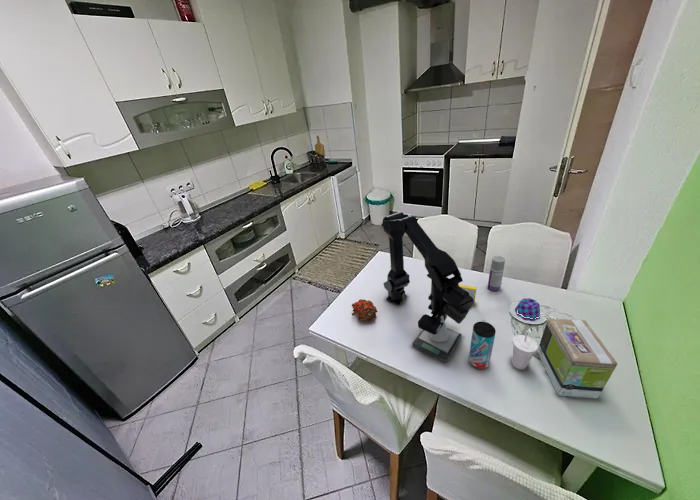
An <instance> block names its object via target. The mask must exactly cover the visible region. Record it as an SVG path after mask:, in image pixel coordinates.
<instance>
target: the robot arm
mask: <svg viewBox="0 0 700 500" xmlns="http://www.w3.org/2000/svg"><path fill="white" fill-rule="evenodd" d="M381 224H382V229H383V232H384V233H385V234H386V236H387V237H388V243H389V244H388V245H389V258H390V269H389V271H388V273H387V276H386V277H387V280H386V281H385V282H383V288H384V289H385V290H386V291H387V297H386V299H385V300H386V301H388V302H390V303H393V304H395V305H397V306H400V305H401V304H402V302H404V301H405V300H406V298H407V296H408V295H406V290H405V288H406V287H408V286H409V284H410V283H411V281H410V274H409V273H408V272H407V271H406V270H405V265H404V263H405V262H404V238H403V237H404V235H405V234H406V236H407V237H408V238H409V240H410V241H411V243H412V244H413V245H414V247H415V248H416V249H417V251H418V252H419V253H420V255H421V257H422V258H423V260H424V267H425V269H426V271H427V274H426V277H428V278H429V279H430V280H431V281H430V282H431V283H430V284H431V286H430V294H429V295H428V300H429V301H430V303H429V305H428V306H427V309H428V310H430V311H431V312H430V314H431V315H429V314H426V313H425V314H422V316H421V317H420V318H419V319H418V321H417V327H418V329H421V330H425V331H427V332H429V333H431V334H433V335H435V334H437V333H438V331H439V330H440V329H441V327H442V326H443V324H444V323H446V320H447V318H448V317H449V318H450V319H451V320H452V321H454V322H455V323H457V324H461V323H462V322H463V321H464V320H465V318H466V316H467V315H468V314H469V312H470V310H471V309H472V307H474V306H473V303H474V300H473V297H471V296H470V295H469V292H467V291H466V290H464V289H462V288H461V287H459V286H458V285H459V284H461V283H462V282H464V281H463V277H462V273H461V271H460V269H459V267H458V265H457V263H456V261H455V260H454V258H453V257H452V256H451V255H449V253H447V252H446V251H445V250H442V249H440V248H439V247H438V246H437V245H436V244H435V243H434V242H433V240H432V239H431V238H430V236H429V235H428V234H427V232H426V231H425V230H424V229H423V227H422V226H421V225H420V224H419V222H418V219H417V217H416V216H414V215H411V214H410V213H403V212H401V211H398V212H396V213H393V214H390V215H386V216H384V217H383V218H382V222H381ZM452 275H453V276H452ZM450 276H452V277H450ZM442 316H444V323H442V322H441V317H442Z"/></svg>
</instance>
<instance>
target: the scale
mask: <svg viewBox="0 0 700 500" xmlns="http://www.w3.org/2000/svg"><path fill="white" fill-rule="evenodd" d="M446 328H447V330H448V332H449V334H450V335H449V338H448V341H443V342H437V341H434V340H431V339H430V337H429V335H428V332H427V331H425V330H423V329H421V332H420V333H419V334H418V335H417V337H416V338H415V339H414V340H413V342H412V345H411V346H412V348H414V349H415V350H417V351H419V352H421V353H423V354H424V355H427V356H429V357H431V358H432V359H435V360H437V361H439V362H440V363H443V364H445V365H446V364H447V363H448V361H449V359H450V357H451V356H452V354H453V353H454V351H455V349H456V348H457V346H458V344H460V343H459V342H460V341H461V339H462V334H463V333H460V332H458V331H455V330H454V329H451V328H449V327H447V326H446Z"/></svg>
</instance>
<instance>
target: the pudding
mask: <svg viewBox="0 0 700 500" xmlns="http://www.w3.org/2000/svg"><path fill="white" fill-rule="evenodd" d="M540 307H541V306H540V303H539V302H538V301H537V300H535V299H534V298H533V299H532V298H530V297H527V298H526V297H524V298H522V299H521V300H517V301H513V302H512V303H510V304H509V306H508V311H509V313H510V315H511V316H512V317H513V318H515V319H516V320H518V321H520V322H522V323H524V324H528V325H540V324H543V323H545V322H547V320H548V317H547V318H545V317H541V315H540ZM517 310H518V313H519V314H522V315H523V316H524V317H530V318H533V319H530V318H524V317H522V316H521V315H519V314H517ZM539 316H540V317H539ZM536 317H539V318H536ZM535 318H536V319H535Z"/></svg>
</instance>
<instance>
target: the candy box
mask: <svg viewBox="0 0 700 500" xmlns="http://www.w3.org/2000/svg"><path fill="white" fill-rule="evenodd" d="M458 286H459V287H461V288H462V289H464V290H466V291H467V292H469V295H470V296H471V297H473V300H474V303H473V306H472V307H475V303H476V295H477V286H472V285H466V284H461V283H459V285H458Z"/></svg>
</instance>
